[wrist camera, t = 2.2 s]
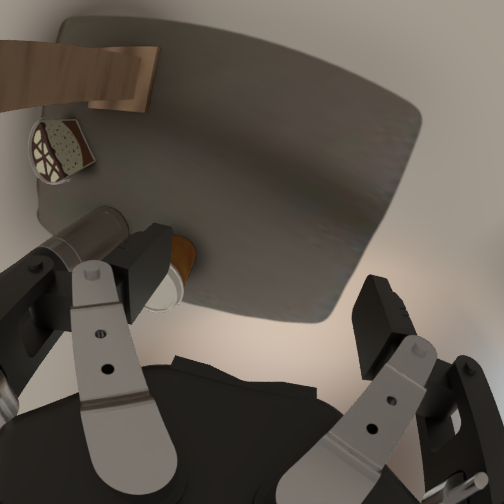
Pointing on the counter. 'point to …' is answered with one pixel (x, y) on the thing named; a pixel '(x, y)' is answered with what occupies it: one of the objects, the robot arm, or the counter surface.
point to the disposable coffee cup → (173, 277)
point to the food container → (58, 150)
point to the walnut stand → (76, 75)
